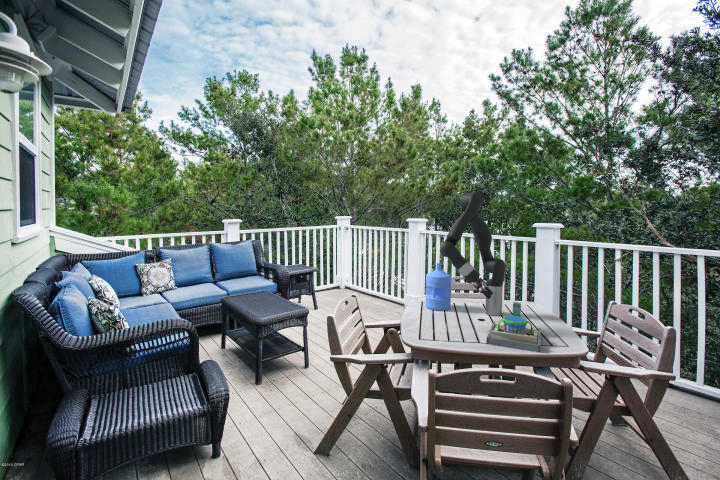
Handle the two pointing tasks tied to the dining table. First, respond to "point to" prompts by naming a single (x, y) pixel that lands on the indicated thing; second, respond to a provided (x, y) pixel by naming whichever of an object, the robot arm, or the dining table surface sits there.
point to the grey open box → (511, 336)
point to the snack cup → (515, 325)
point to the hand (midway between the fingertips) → (491, 296)
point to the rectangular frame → (513, 342)
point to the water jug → (438, 290)
